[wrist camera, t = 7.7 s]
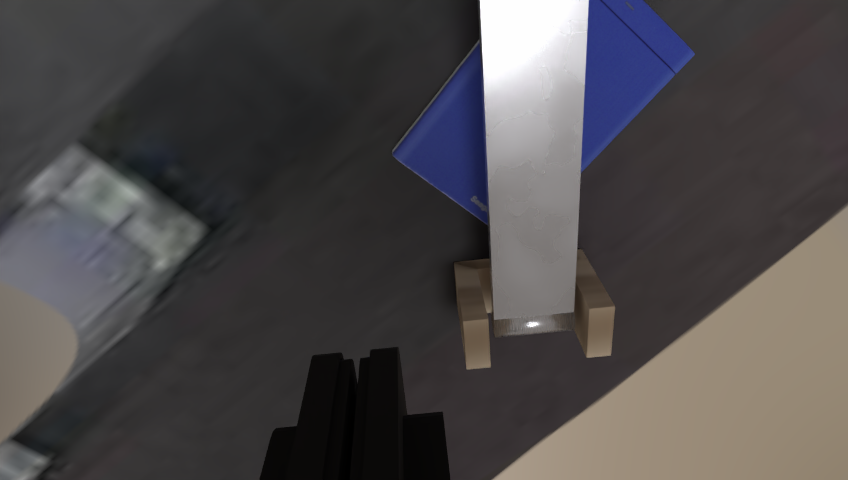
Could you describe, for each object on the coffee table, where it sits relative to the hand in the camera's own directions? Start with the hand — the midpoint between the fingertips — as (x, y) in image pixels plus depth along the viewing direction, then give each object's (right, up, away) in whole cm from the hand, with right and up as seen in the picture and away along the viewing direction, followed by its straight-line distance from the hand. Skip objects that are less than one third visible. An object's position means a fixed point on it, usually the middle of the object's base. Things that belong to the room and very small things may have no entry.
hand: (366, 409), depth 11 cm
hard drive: (+7, +10, +16) cm, 21 cm away
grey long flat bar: (+6, +7, +13) cm, 16 cm away
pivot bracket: (+7, +1, +20) cm, 22 cm away
